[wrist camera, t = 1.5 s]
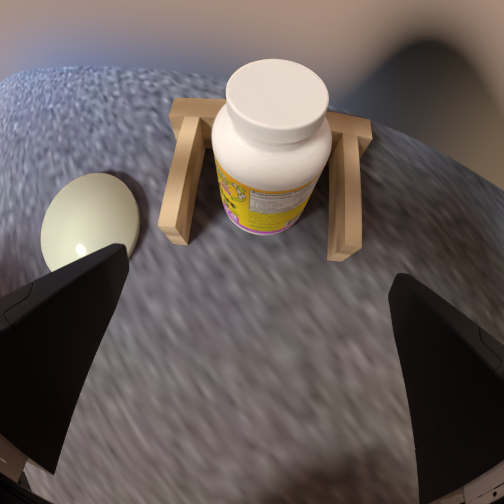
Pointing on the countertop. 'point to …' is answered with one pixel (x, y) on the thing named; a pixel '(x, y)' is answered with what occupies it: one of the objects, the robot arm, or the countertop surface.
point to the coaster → (89, 219)
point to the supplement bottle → (270, 143)
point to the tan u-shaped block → (200, 137)
